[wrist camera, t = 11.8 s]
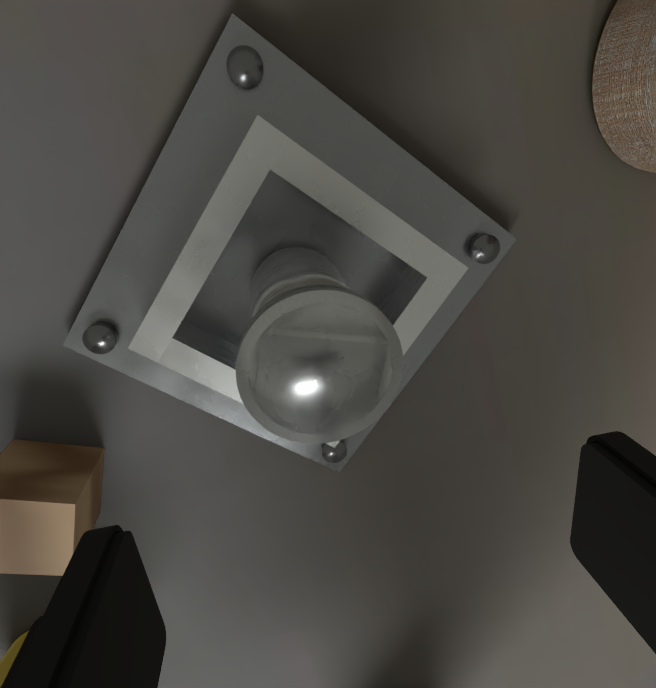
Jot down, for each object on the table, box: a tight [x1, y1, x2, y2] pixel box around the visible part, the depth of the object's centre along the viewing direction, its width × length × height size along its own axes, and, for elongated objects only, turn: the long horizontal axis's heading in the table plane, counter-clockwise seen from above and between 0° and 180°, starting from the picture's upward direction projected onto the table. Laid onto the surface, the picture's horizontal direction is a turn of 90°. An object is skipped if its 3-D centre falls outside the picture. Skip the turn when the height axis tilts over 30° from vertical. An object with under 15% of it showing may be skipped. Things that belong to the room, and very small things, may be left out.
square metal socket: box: [63, 13, 517, 472], centre depth 24 cm, size 18×18×4 cm
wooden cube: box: [0, 439, 104, 576], centre depth 26 cm, size 5×5×5 cm
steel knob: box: [236, 247, 403, 444], centre depth 20 cm, size 6×6×10 cm
